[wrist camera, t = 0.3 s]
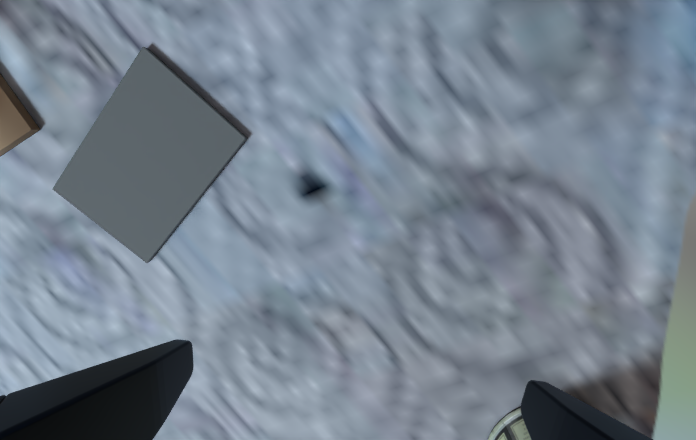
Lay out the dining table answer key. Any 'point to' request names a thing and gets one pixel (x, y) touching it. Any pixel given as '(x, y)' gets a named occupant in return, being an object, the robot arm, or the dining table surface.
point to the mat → (148, 157)
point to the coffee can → (510, 428)
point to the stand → (13, 119)
